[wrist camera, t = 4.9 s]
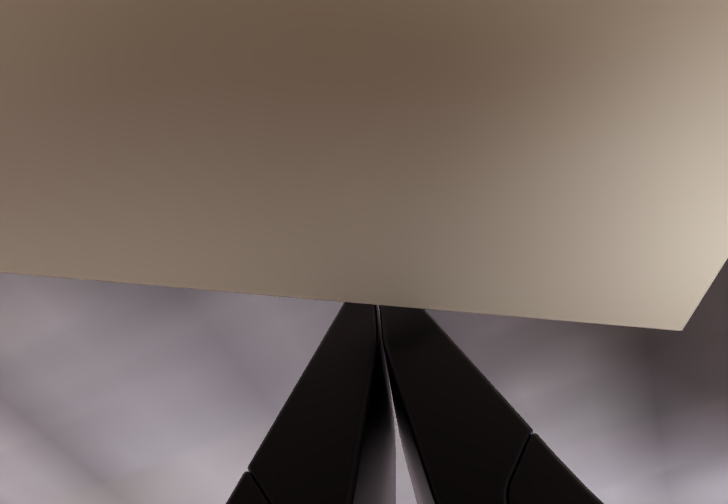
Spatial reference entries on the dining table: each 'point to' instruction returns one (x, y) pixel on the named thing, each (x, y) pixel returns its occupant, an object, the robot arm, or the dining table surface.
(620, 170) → the ash block
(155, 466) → the dining table surface
